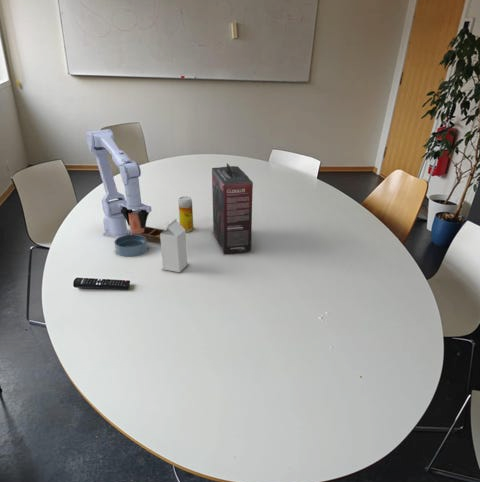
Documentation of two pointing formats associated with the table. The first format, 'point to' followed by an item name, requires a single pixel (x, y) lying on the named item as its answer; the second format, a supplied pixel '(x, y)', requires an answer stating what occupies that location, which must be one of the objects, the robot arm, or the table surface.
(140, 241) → the bowl
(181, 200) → the beer can
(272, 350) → the table surface
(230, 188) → the headset box
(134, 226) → the cup
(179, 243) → the milk carton
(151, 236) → the box
